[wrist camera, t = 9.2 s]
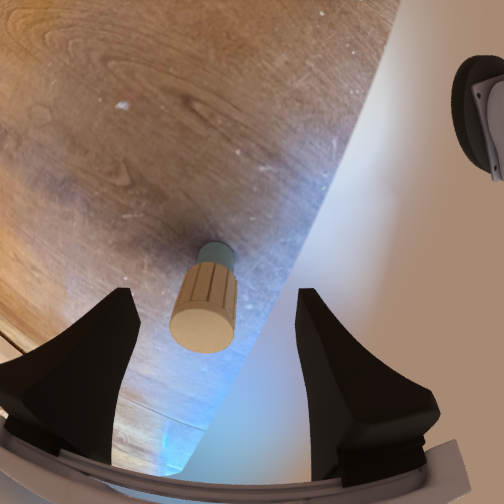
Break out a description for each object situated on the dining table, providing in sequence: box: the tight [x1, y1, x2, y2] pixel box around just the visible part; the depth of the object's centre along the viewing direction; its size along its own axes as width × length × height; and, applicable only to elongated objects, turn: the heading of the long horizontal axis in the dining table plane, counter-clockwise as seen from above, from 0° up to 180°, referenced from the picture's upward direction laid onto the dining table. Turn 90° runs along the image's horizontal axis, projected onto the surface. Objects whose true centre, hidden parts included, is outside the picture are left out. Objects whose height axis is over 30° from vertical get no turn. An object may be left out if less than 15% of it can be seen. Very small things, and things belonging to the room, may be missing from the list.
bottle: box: [195, 242, 235, 274], centre depth 20 cm, size 3×3×6 cm
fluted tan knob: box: [169, 262, 237, 353], centre depth 17 cm, size 4×4×4 cm
